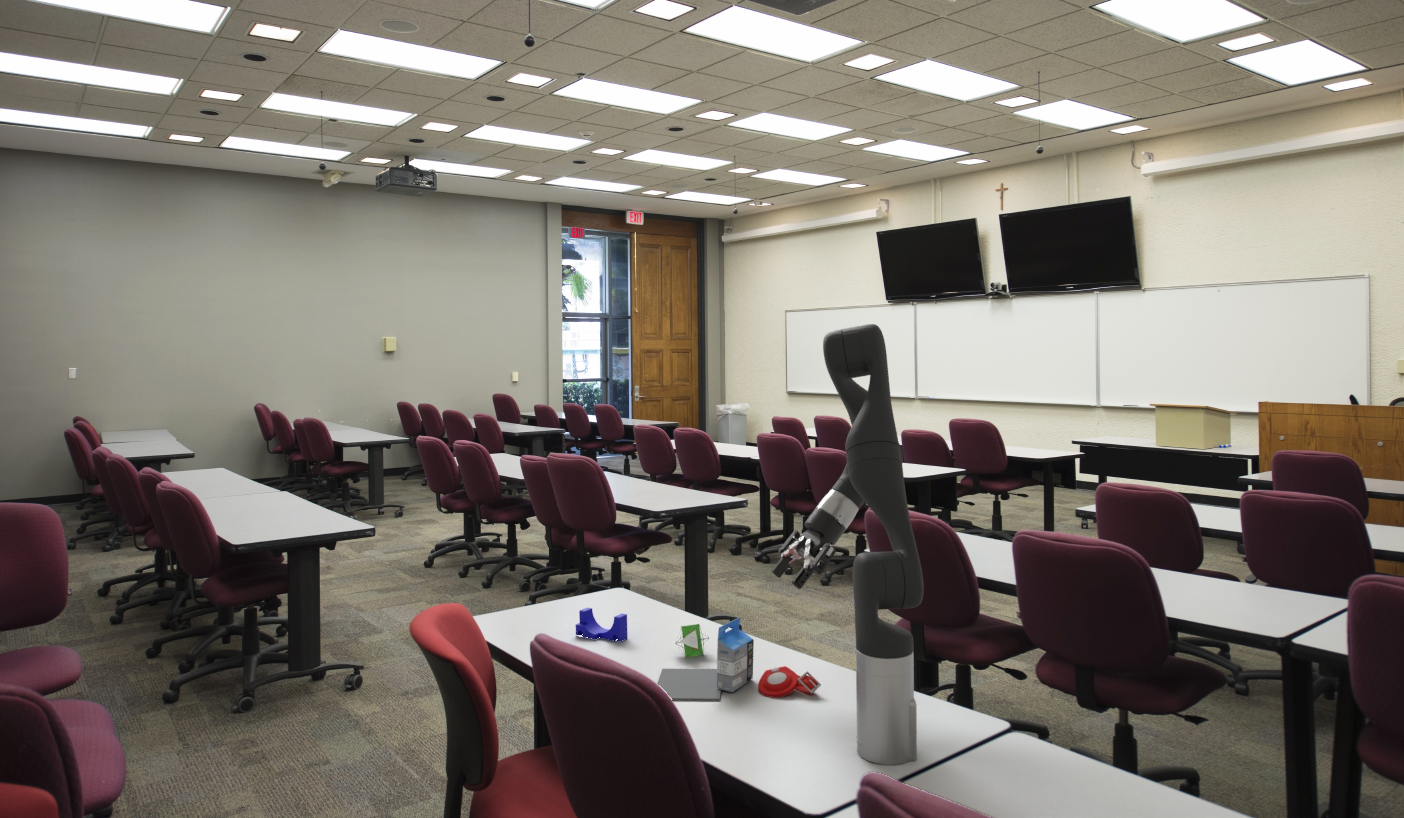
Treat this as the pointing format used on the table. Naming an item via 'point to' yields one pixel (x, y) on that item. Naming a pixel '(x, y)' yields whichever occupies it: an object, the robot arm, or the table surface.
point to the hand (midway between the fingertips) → (785, 580)
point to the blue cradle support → (595, 631)
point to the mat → (690, 684)
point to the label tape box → (734, 657)
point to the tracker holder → (786, 682)
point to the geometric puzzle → (692, 640)
